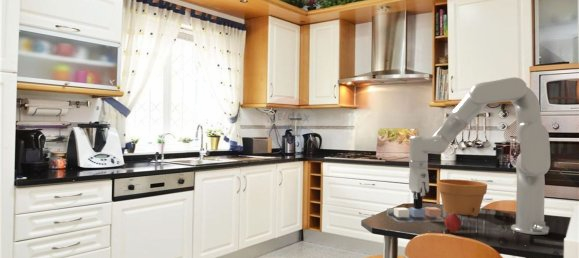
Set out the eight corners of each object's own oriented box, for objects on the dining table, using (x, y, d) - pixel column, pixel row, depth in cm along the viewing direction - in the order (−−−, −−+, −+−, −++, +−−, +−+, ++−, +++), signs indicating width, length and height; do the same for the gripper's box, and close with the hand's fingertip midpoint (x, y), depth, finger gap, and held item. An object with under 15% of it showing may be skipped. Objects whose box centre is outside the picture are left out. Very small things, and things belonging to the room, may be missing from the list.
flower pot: (477, 210, 206) (478, 179, 206) (493, 220, 186) (494, 185, 185) (432, 208, 209) (433, 178, 208) (443, 218, 188) (444, 184, 187)
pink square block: (440, 216, 180) (441, 209, 180) (430, 216, 180) (430, 209, 180) (435, 214, 185) (435, 207, 185) (424, 214, 184) (425, 207, 184)
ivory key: (409, 217, 178) (409, 209, 178) (398, 217, 178) (398, 209, 178) (404, 214, 183) (404, 207, 183) (393, 214, 182) (394, 207, 182)
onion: (447, 230, 166) (448, 209, 166) (462, 232, 163) (463, 211, 163) (442, 232, 162) (442, 211, 162) (457, 235, 158) (458, 214, 158)
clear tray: (449, 224, 176) (449, 213, 176) (398, 225, 173) (398, 214, 173) (434, 217, 189) (434, 207, 189) (386, 218, 186) (386, 208, 186)
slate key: (425, 216, 179) (425, 209, 179) (414, 216, 179) (414, 209, 179) (420, 214, 184) (420, 207, 184) (409, 214, 183) (409, 207, 183)
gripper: (435, 166, 174) (434, 211, 174) (418, 163, 189) (418, 204, 189) (417, 166, 173) (417, 211, 173) (402, 163, 188) (402, 205, 188)
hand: (417, 208), depth 181 cm, fingers closed
